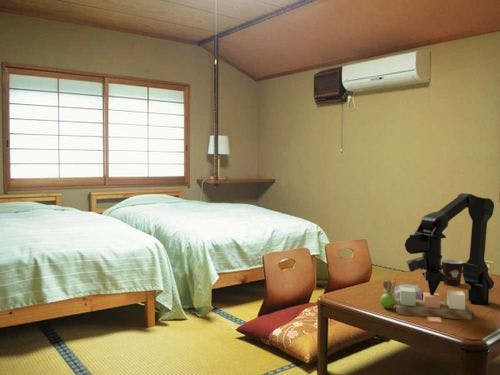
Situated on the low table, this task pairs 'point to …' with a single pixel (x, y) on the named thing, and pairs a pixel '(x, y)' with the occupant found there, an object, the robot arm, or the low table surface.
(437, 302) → the peach cube
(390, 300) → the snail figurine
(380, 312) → the low table surface
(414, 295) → the key sage
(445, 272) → the coffee mug
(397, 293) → the stone block
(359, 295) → the low table surface
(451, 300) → the cream cube
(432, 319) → the tile
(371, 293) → the low table surface
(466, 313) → the walnut board
